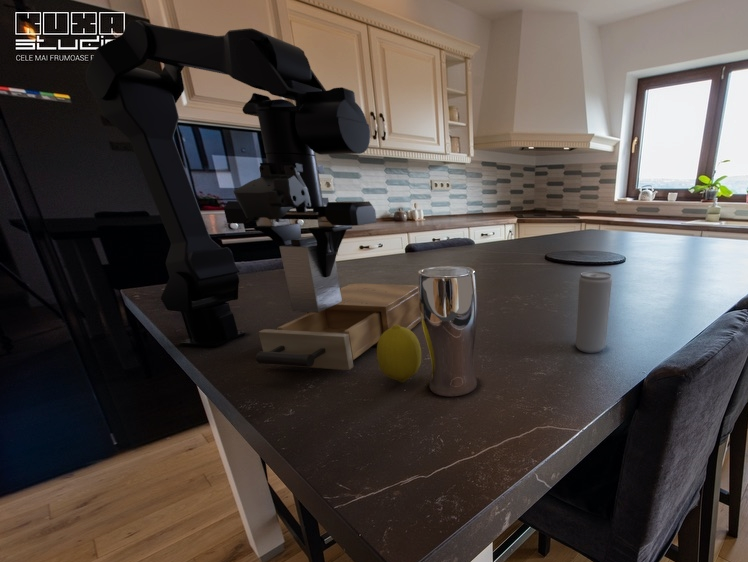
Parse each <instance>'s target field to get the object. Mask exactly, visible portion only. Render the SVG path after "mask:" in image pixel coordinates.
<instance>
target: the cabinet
mask: <svg viewBox="0 0 748 562" xmlns="http://www.w3.org/2000/svg"><path fill="white" fill-rule="evenodd" d="M418 287H419V285H412V284H389V283H388V284H386V283H363V282H362V283H358V282H357V283H356V282H353V283H350V284H347V285H346V286H343V287H340V292H341V298H342V302H340V303H338V304H336V305H334V306H332V307H330V308H327V309H333V310H354V311H375V312H381V315H382V323H383V332H385V331H386V330H388V329H390V328H392V327H393V326H394V325H399V326H401V327H404V328H407V329H409V330H410V331H412V329H413V328H415V327H416V326H418V324H419V323H421V318H420V310H419V289H418ZM308 313H311V312H306V314H308ZM377 345H378V342H377V343H375V344H374V345H373V346H372V347H377Z"/></svg>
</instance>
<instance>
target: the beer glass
mask: <svg viewBox="0 0 748 562" xmlns="http://www.w3.org/2000/svg"><path fill="white" fill-rule="evenodd" d="M417 274H418V286H419V287H418V289H419V310H420V318H421V322H420V323H421V327H422V331H423V335H424V338H425V342H426V346H427V349H428V353H429V357H430V378H429V389H430V391H431V392H432V393H433V394H435V395H437V396H440V397H446V398H447V397H451V398H452V397H461V396H464V395H467V394H469V393H471V392H473V391H474V390H475V389H476V388H477V385H478V380H477V376H476V371H475V367H474V366H475V365H474V349H475V342H476V341H475V340H476V335H477V334H476V333H477V327H478V318H479V301H478V291H477V281H476V271H475V269H474V268H472V267H469V266H467V267H466V266H462V265H461V266H460V265H441V266H432V267H426V268H423V269H420V270H418V272H417Z"/></svg>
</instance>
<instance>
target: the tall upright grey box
mask: <svg viewBox="0 0 748 562" xmlns="http://www.w3.org/2000/svg"><path fill="white" fill-rule="evenodd" d="M291 243H292V244H288V245H283V246H280V250H279V251H280V255H281V256H280V257H281V262H282V266H283V272H284V276H285V280H286V286H287V290H288V296H289V301H290V305H291V310H292V312H295V313H307V312H313V313H319V312H321V311H323V310H325V309H327V308H330V307H332V306H334V305H336V304H338V303H340V302H342V298H341V292H340V288H341V286H340V278H339V273H338V267H337V260H336V259H335V262H334V265H333V269H332V272H331V275H330V276H329V277H324V276H323V273H322V269H321V266H320V259H319V253H318V247H317V241H316V238H315V237H314V236H313V235H310V236H304V237H301V238H297V239H292V240H291Z"/></svg>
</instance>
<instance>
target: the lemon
mask: <svg viewBox="0 0 748 562" xmlns="http://www.w3.org/2000/svg"><path fill="white" fill-rule="evenodd" d="M376 359H377V363H378V367H379V369H380V371H381V372H382V373H383V374H384V375H385V377H388V378H389V379H391V380H395V381H398V382H399V383H405V382H406V381H407V380H408V379H410V378H411V377H413V376H415V375H416V374H417V372H418V371H419V369H420V366H421V364H422V347H421V343H420V341H419V339H418V337H417V335H416V334H415V333H414V332H413V331H412V330H409V329H407V328H404V327H401V326H399V325H394V326H393V327H392V328H390V329H388V330H386V331H385V332H384V333H383V334H382V335H381V337H380V339H379V341H378V345H377V346H376Z"/></svg>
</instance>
